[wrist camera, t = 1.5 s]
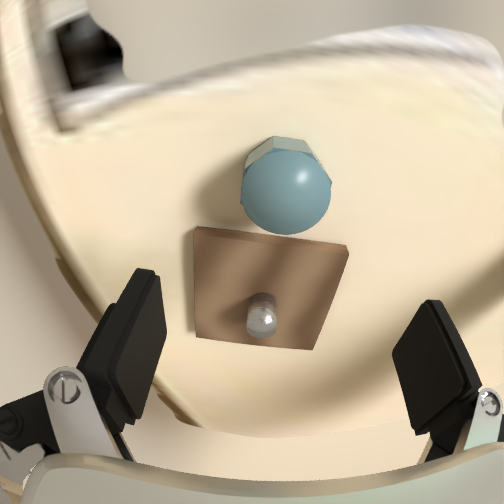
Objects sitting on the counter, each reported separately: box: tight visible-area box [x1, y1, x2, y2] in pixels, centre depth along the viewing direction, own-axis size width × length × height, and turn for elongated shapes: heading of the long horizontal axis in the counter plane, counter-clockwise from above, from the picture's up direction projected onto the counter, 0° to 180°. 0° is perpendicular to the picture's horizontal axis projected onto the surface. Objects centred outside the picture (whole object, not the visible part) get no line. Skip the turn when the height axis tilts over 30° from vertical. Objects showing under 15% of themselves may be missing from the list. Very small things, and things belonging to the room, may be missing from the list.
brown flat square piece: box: [194, 226, 349, 350], centre depth 29 cm, size 14×14×2 cm
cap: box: [240, 136, 332, 235], centre depth 21 cm, size 6×6×5 cm
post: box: [246, 293, 277, 338], centre depth 27 cm, size 3×3×4 cm
